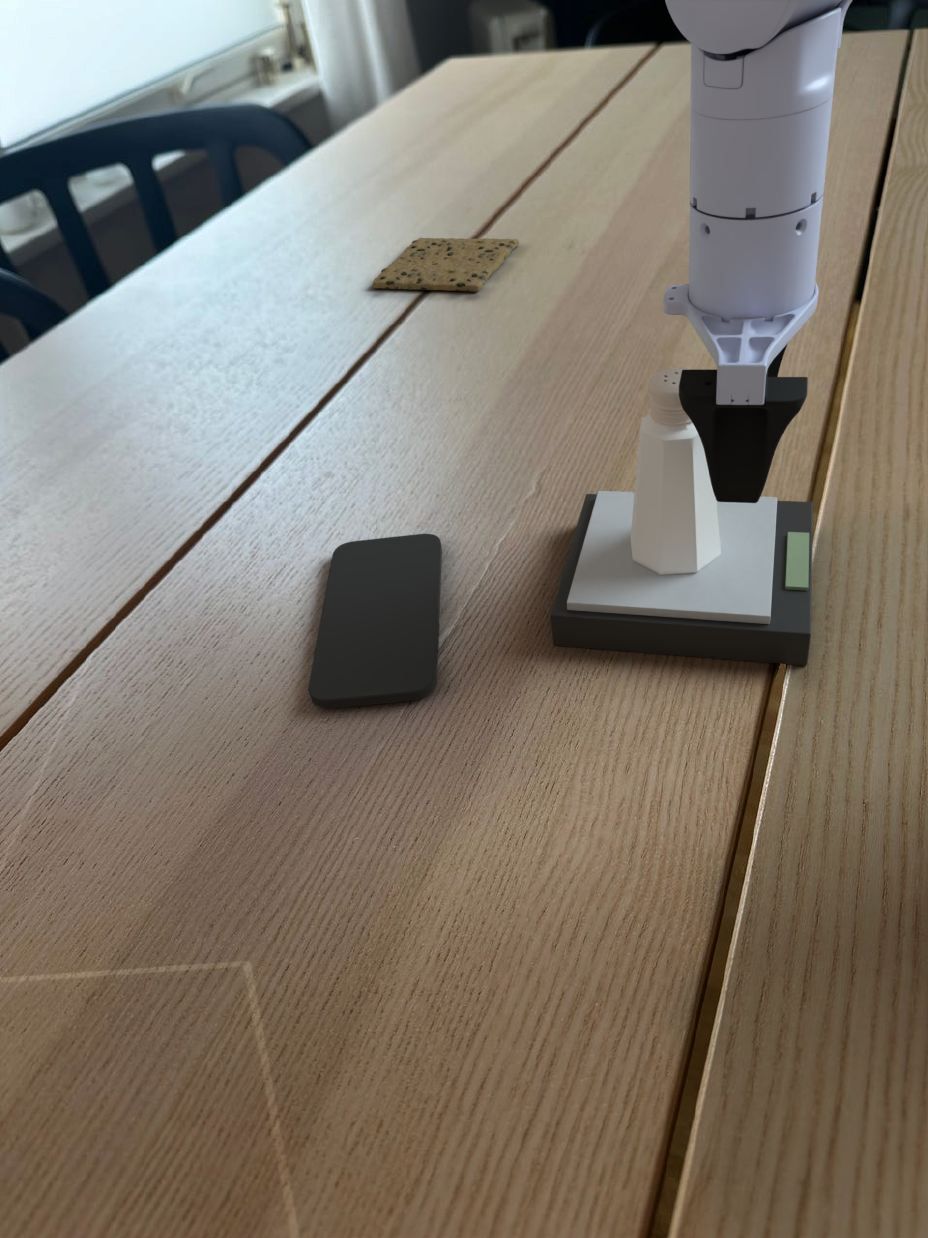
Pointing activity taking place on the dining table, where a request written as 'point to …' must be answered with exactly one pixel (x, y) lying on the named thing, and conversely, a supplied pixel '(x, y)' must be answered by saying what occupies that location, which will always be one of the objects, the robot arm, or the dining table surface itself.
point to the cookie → (446, 264)
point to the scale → (691, 586)
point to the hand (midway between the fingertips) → (741, 457)
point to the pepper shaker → (672, 487)
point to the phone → (379, 623)
